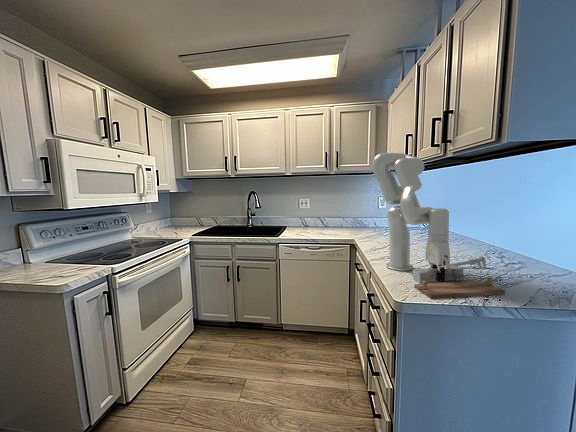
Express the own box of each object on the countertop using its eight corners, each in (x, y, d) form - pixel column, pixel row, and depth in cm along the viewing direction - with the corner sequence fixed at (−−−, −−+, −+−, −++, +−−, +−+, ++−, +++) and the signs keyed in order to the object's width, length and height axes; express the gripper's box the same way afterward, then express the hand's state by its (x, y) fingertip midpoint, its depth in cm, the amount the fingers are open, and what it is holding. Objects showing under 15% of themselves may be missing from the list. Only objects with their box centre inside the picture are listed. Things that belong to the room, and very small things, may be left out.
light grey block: (413, 280, 114) (412, 269, 114) (454, 275, 115) (454, 264, 114) (420, 284, 109) (419, 273, 108) (463, 279, 109) (463, 268, 109)
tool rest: (414, 287, 105) (414, 276, 104) (480, 283, 106) (480, 273, 106) (430, 298, 94) (430, 286, 93) (504, 294, 95) (504, 282, 95)
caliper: (484, 267, 128) (484, 255, 128) (485, 268, 127) (486, 255, 127) (440, 267, 131) (440, 255, 130) (441, 268, 130) (441, 256, 129)
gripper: (418, 234, 118) (418, 274, 120) (442, 241, 102) (441, 286, 103) (434, 234, 119) (434, 273, 120) (460, 240, 102) (459, 285, 104)
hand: (437, 279), depth 112 cm, fingers closed on light grey block, 3 cm apart
